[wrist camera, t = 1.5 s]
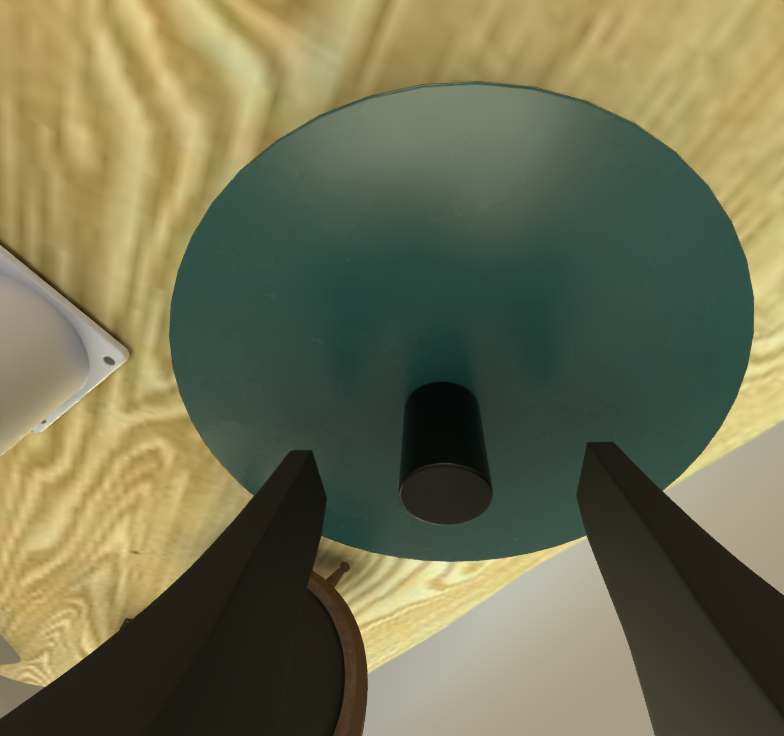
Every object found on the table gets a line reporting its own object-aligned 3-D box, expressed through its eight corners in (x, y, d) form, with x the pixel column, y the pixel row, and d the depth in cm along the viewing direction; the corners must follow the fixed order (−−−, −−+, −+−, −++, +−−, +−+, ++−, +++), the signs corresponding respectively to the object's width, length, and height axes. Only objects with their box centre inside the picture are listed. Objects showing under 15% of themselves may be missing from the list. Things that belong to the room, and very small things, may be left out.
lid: (452, 581, 21) (457, 687, 17) (116, 404, 16) (19, 503, 12) (843, 371, 13) (1017, 490, 9) (408, -161, 7) (387, -420, 4)
